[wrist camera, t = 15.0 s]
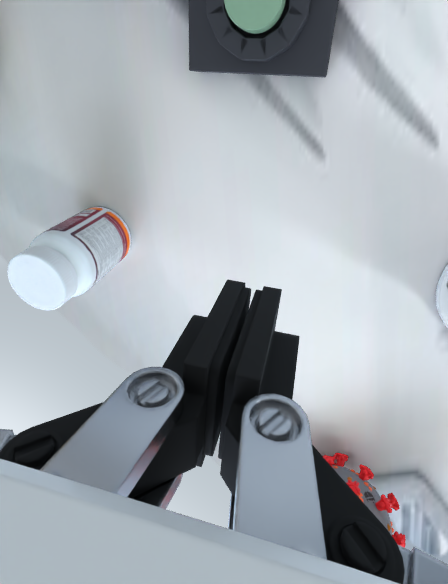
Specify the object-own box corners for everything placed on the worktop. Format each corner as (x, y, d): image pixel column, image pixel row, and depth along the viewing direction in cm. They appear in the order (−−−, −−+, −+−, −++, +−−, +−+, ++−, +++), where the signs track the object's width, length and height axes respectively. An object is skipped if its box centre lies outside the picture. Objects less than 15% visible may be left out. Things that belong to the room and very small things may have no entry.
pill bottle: (76, 245, 39) (-2, 296, 30) (84, 194, 36) (0, 234, 27) (126, 269, 40) (65, 327, 30) (139, 220, 36) (75, 269, 27)
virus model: (375, 418, 42) (399, 561, 29) (404, 496, 48) (434, 645, 35) (262, 431, 48) (241, 557, 35) (299, 500, 53) (293, 629, 41)
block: (349, -70, 23) (354, -97, 19) (325, 77, 27) (326, 76, 23) (197, -66, 24) (178, -90, 21) (197, 71, 28) (181, 69, 25)
